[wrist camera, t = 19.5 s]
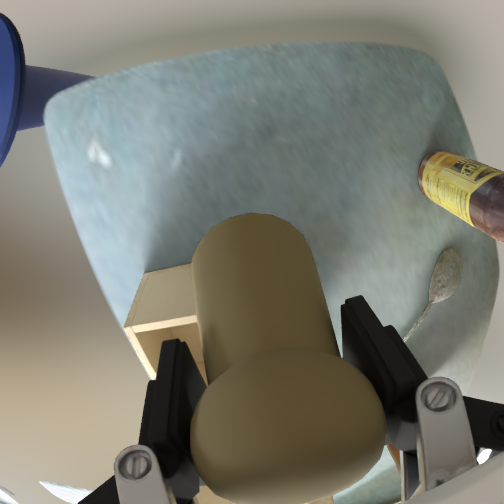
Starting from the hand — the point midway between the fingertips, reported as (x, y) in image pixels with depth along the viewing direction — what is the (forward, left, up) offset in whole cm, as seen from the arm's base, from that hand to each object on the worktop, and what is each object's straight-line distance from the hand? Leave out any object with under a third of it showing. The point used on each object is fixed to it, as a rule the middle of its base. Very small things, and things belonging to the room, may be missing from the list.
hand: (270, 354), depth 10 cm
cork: (0, 0, -6) cm, 6 cm away
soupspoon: (+21, -22, -23) cm, 39 cm away
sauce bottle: (+23, -2, -24) cm, 33 cm away
